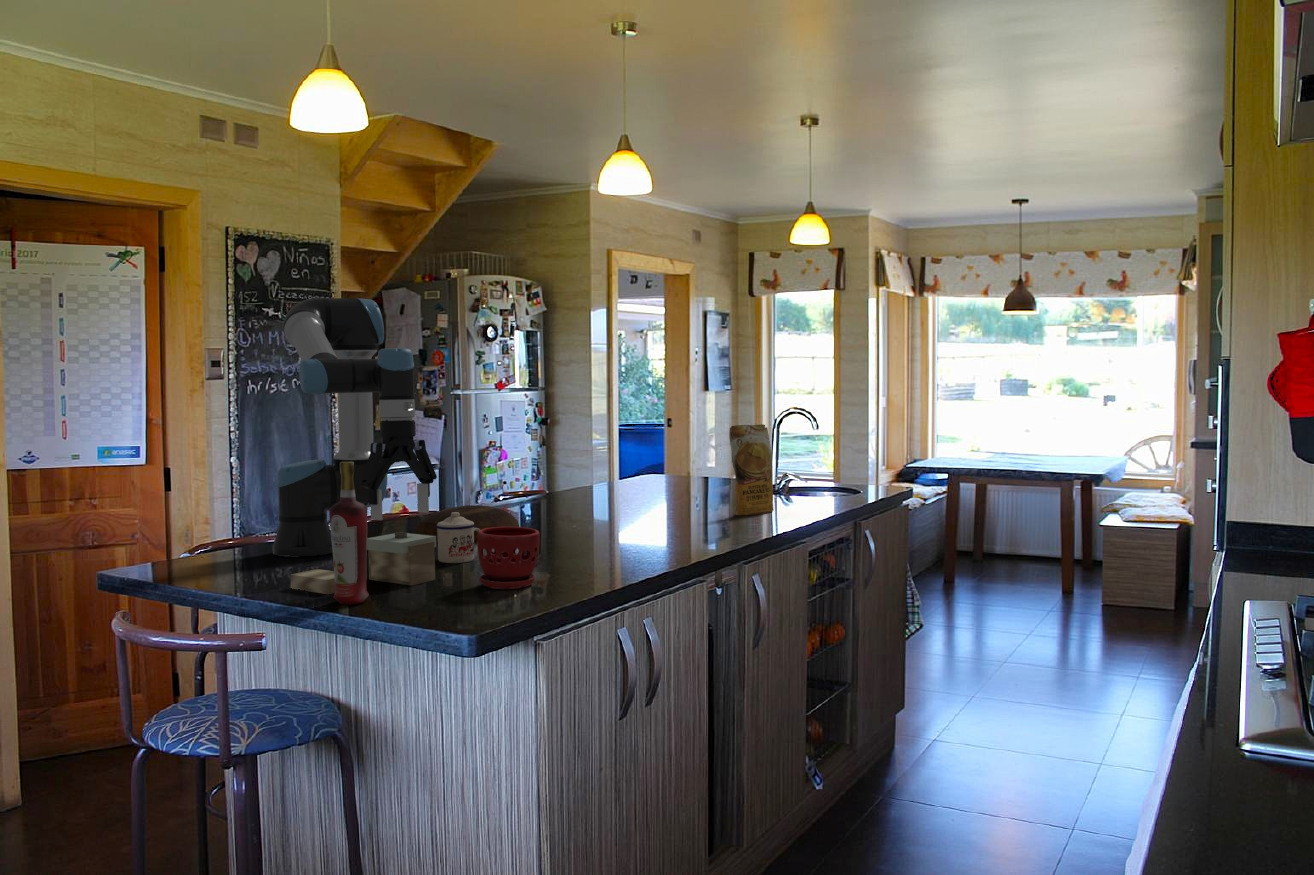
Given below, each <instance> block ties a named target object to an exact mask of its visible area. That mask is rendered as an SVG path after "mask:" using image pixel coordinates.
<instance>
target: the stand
mask: <svg viewBox="0 0 1314 875" xmlns="http://www.w3.org/2000/svg"><path fill="white" fill-rule="evenodd" d="M289 577H290V589H291V588H292V590H298V589H300V590H299V591H304V590H305V592H311V593H318V594H324V595H331V594H335V577H334V570H328V569H327V570H326V569H321V568H320V569H319V568H316V569H311V570H306V571H301V572H300V571H299V572H297V573H290V574H289Z"/></svg>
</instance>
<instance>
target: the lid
mask: <svg viewBox="0 0 1314 875" xmlns="http://www.w3.org/2000/svg"><path fill="white" fill-rule="evenodd" d="M432 541H434V548H437V542H436V536H429V535H420V534H417V533H408V532H407V531H398V532H394V533H388V534H385V535H378V536H373V537H367V551H368V550H374V551H382V552H391V553H399V554H405V553H409V546H411V545H416V544H421V543H426V542H432Z"/></svg>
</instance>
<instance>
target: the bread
mask: <svg viewBox="0 0 1314 875" xmlns="http://www.w3.org/2000/svg"><path fill="white" fill-rule="evenodd" d="M453 512H458V513H459V516H461V517H464V518H465V519H467V520H470V521H472V522H473V523H474V525H475V526H474V528H479V529H480V530H481V529H484V528H492V527H520V523H519V520H518V519H517V518H516V517H515V516H514V515H513V514H511V513H509V512H508V511H506V510H504V509H501V508H498V507H493V506H489V505H479V504H478V505H475V504H474V505H473V504H472V505H468V504H467V505H466V504H465V505H461V506H453V507H450V508H444V509H442V510H439V511H436V512H433V513H430V515H427V516H425V517H424V518H422V519H421V520H420V521H419V522H418V524H416V527H415V534H420V535H429V536H436V543H438V533H437V527H436V526H437V524H438V523H439V522H441V521H444V520H445V519H446V518H448V517H452V516H451V513H453ZM477 537H478V532H477V531H474V544H476V543H477Z"/></svg>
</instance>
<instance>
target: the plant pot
mask: <svg viewBox="0 0 1314 875" xmlns="http://www.w3.org/2000/svg"><path fill="white" fill-rule="evenodd" d="M540 536H541V535H540V531H539V530H538V529H535V528H530V527H524V526H523V527H522V526H519V527H492V528H484V529H481V530H479V531H478V537H477V545H478V547H477V556H478V561H479V564H480V567H481V570H482V573H483V574H482V575H480V577H479V581H480V583H482V585H484V586H485V587H487V588H490V589H492V590H493V589H494V590H517V589H522V588H526V587H528V586H530V585H532V583H534V581H536V576H535V575H534V574H533V571H534V570H535V568H536V565H537V562H538V558H539V551H540ZM484 550H485V553H486V555H484ZM492 550H494V551H492ZM517 550H518V553H516V551H517ZM525 553H526V554H525Z"/></svg>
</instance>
